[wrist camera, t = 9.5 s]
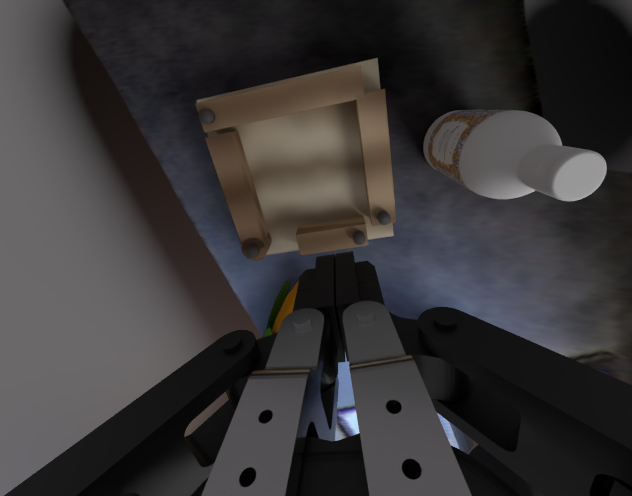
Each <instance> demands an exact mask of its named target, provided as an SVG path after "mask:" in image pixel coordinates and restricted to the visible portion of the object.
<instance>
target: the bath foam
mask: <svg viewBox="0 0 632 496" xmlns="http://www.w3.org/2000/svg"><path fill="white" fill-rule="evenodd" d="M423 151H424V156H425V158H426V160H427V162H428V163H429V165H430V166H431V167H433V168H434V169H435V170H437V171H439V172H440V173H442V174H444V175H445V176H447V177H449V178H451V179H452V180H454V181H456V182H457V183H459V184H461V185H462V186H464V187H466V188H468V189H469V190H471V191H473V192H474V193H477V194H479V195H482V196H485V197H489V198H494V199H512V198H517V197H521V196H524V195H527V194H529V193H532V192H534V191H539V192H541V193H544V194H546V195H549V196H551V197H554V198H556V199H559V200H563V201H576V200H579V199H582V198H584V197H586V196H588V195H590V194H591V193H593V192H594V191H595V190H596V189H597V188H598V187H599V186H600V184H601V183H602V181H603V180H604V177H605V174H606V162H605V160H604V158H603V157H602V156H601V155H600V154H598V153H597V152H594V151H591V150H585V149H579V148H572V147H566V146H562V143H561V140H560V137H559V135H558V133H557V131H556V130H555V128H554V127H553V126H552V125H551V124H550V123H549V122H548V121H546V120H545V119H543V118H542V117H540V116H538V115H536V114H533V113H530V112H526V111H521V110H456V111H451V112H448V113H446V114H444V115H442V116H441V117H439V118H438V119H437V120H436V121H435V122H434V123H433V124H432V125H431V126H430V128H429V129H428V131H427V133H426V135H425V138H424V143H423Z"/></svg>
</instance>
